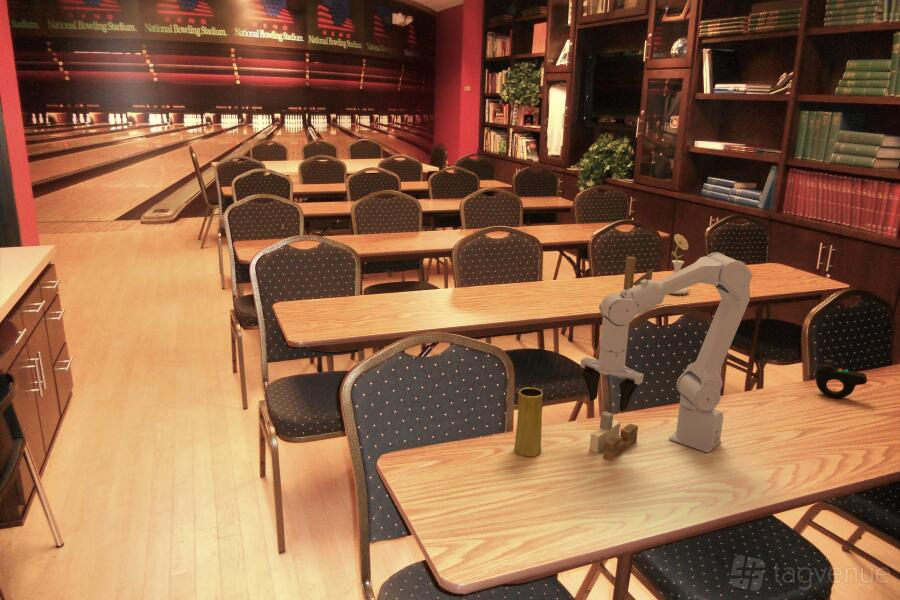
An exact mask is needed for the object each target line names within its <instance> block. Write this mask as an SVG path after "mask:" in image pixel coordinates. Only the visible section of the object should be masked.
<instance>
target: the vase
mask: <svg viewBox="0 0 900 600" xmlns="http://www.w3.org/2000/svg"><path fill="white" fill-rule="evenodd" d="M543 396H544V393H543V390H541V389H540V388H536V387H523V388H521V389H519V391H518V407H517V408H518V409H517V417H516V418H517V421H516V431H515V442H514V448H513V449H514V452H515V453H517V454H518V456H519V455H520V456H521V457H522V456H523V457H528V458H529V457H531V458H532V457H533V458H534V457H536V456H538V455H541V453H542V425H543V424H542V423H543V422H542V421H543Z"/></svg>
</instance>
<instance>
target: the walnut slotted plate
mask: <svg viewBox="0 0 900 600" xmlns="http://www.w3.org/2000/svg"><path fill="white" fill-rule="evenodd" d="M638 428H639V426H638V425H635V424H633V423H628V424H627V425H626V426H624V427H623V428H620V433H619V436H618V435H615V434H614V435H613V436H611V437H610V438H608V439H607V440H606V441H605V442H604V448H603V454H602V458H604V459H606V460H608V461H613V460H614V459H615V458H617V457H618V456H620V455H621V454H622V453H623V452H625V451H626V450H627V449H629V448H630V447H632V446H633V445H634V444H635V443H637V441H638V440H637V439H638V432H639V431H638V430H639V429H638Z"/></svg>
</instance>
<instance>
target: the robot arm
mask: <svg viewBox="0 0 900 600" xmlns="http://www.w3.org/2000/svg"><path fill="white" fill-rule="evenodd" d="M752 278H753V274H752V272H751V270H750V268H749V267H748V265H747V264H746V263H745V262H743V261H741V260H736V259H734V258H732V257H730V256H726V255H725V254H724V253H721V252H717V251H716V252H711V253H710V254H708V255H705V256H701V257H699V258H698V259H697V260H696V261H695V262H694V263H692V264H690V265H688V266H686V267H684V268H681V269H680V271H678V272H676V273H674V272H673V273H672V274H671V275H668V276H666V277H664V278H663V279H661V280H659V281H658V280H654V279H652V280H648V281H647V280H646V279H644V280H642V281H640V283H641V284H639V285H637V286H635V285H633V287H632V288H630V289H628V290H623V289H621V290H620V293H615V292H614V293H609V294H607V295H606V296H605V297H604V299H602V300H601V303H600V304H599V305H598V308H599V312H600V314H601V315H602V323H601V331H600V333H601V334H600V343H599V344H600V345H599V354H598V356H599V357H598V359H595V358H589V357H584V358H582V359H580V368H583V369H584V370H582V371H581V376H582V378H583V380H584V382H585V384H586V387H587V391H588V397H589V401H592V402H593V401H595V400H597V399H598V393H599V382H600V379H601V375H603V376H607V375H609V376H612V377H613V376H614V377H616V378H620V379H623V381H621V382H620V383H619V390H620V400H619V411H621V412H624V411H625V410H627V409H628V406H629V404H630V400H631V398H632V397H633V394H634V392H635V391H636V389H637V388H638V386H639V385H640V384H642V383H643V381H644V373H641V372H639V371H636V370H634V369H632V368H629V367H627V366H626V359H627V358H626V357H627V348H628V339H629V325H630V323H632V321H633V320H634V318H635V316H637V315H639V314H641V313H642V312H645V311H648V310H650V309H652V308H654V307H656V306H658V305H661V304H662V303H663V301H664V299H665V297H666V296H668V295H671V293H673V292H676V291H679V290H681V289H684V288H686V287H688V288H689V287H692V286H694V285H696V284H699V283H701V284H705V285H712V286H715V289H716V290H717V293H718V294H719V296H720V298H721V299H720V301H719V305H718V307H717V309H716V311H715V314H714V316H713V318H712V321H711V323H710V326H709V329H708V331H707V334H706V335H705V338H704V340H703V343H702V346H701V347H700V350H699V352H698V355H697V356H696V357H697V358H696V360H695V361H694V362H691V363H690V364H688V365H687V367H686V369H685V370H684V372H683V373H682V374H681V375H680V376H679V377H678V379H677V381H676V389H677V391H678V393H679V394H680V397H679V398H680V399H679V407H678V414H677V423H676V428H675V429H676V430H675V432H674V433H673V434H671V435H670V436H669V437H668V439H669V440H670V441H672V442H675V443H677V444H681V445H683V446H684V445H685V446H687V447H690V448H692V449H696V450H698V451H701V452H704V453H707V454H708V453H710V452H711V451H712V450H713V449H714V448H715V447H716V446H718V445H719V444H720V443H721V441H722V439H721V435H722V429H723V423H724V414H723V412H721V411H719V410H717V409H716V407H718V405H719V403H720V401H721V397H722V396H721V389H722V387H723V385H724V384H723V379H722V375H721V372H720V371H721V368H722V366H723V364H724V363H725V362H724V361H725V359H726V357H727V354H728V351H729V350H730V348H731V345H732V343H733V340H734V337H735V336H736V334H737V331H738V328H739V326H740V324H741V321H742V319H743V316H744V314H745V312H746V309H747V307H748V305H749V303H750V300H751V284H750V283H751V280H752Z"/></svg>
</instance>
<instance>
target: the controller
mask: <svg viewBox="0 0 900 600" xmlns="http://www.w3.org/2000/svg"><path fill="white" fill-rule="evenodd" d="M823 362H824V364H823V363H822V364H817V365H816V367H815V368H816V370H815V371H814V375H813V378H815V383H816V387H817V388H818V390H819V391H820V392H821V393H822V394H823V395H825V396H827V397H829V398H832V399H842V398H843V399H844V398H846V397H848V396H849V395H851V394H852V393H853V391H854V390H855V388H856V386H861V385H865V384H867V382H868V377H867V374H866V373H863V372H859V371H852V370H848V369H843V368H842V367H839V368H838V367H835V366H833V363H834V361H833V360H831V359H824V360H823ZM832 380H833V381H834V380H836V381H838V382H840V383H841V384H842V387H843V388H841V390H838V391H834V390H831V389H830V388H829V387H828V385H827V383H829V381H832Z"/></svg>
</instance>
